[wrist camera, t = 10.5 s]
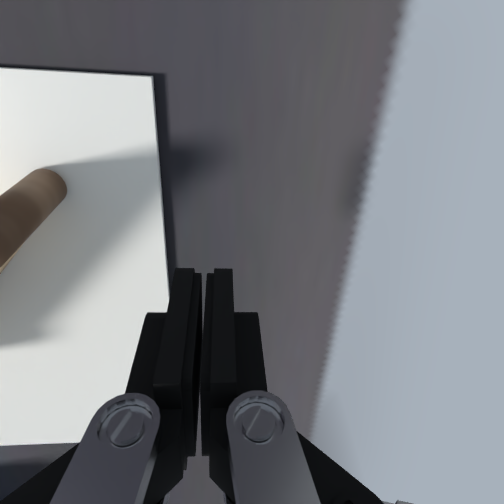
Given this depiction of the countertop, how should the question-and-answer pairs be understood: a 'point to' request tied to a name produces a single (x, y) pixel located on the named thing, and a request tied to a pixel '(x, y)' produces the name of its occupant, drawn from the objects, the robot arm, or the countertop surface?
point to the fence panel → (27, 209)
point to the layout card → (78, 247)
